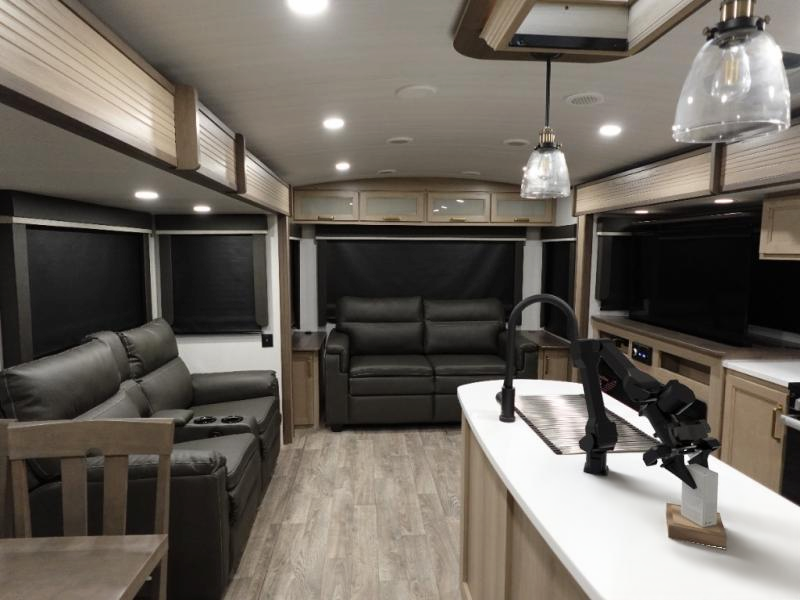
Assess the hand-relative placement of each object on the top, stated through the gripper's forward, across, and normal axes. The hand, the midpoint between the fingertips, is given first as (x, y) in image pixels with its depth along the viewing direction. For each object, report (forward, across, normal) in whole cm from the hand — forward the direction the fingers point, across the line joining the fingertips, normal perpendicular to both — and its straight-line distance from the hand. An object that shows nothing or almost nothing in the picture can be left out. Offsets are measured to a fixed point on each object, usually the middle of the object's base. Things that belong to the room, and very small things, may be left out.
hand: (703, 487), depth 111 cm
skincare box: (+5, 0, +7) cm, 8 cm away
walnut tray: (+7, 0, +9) cm, 11 cm away
